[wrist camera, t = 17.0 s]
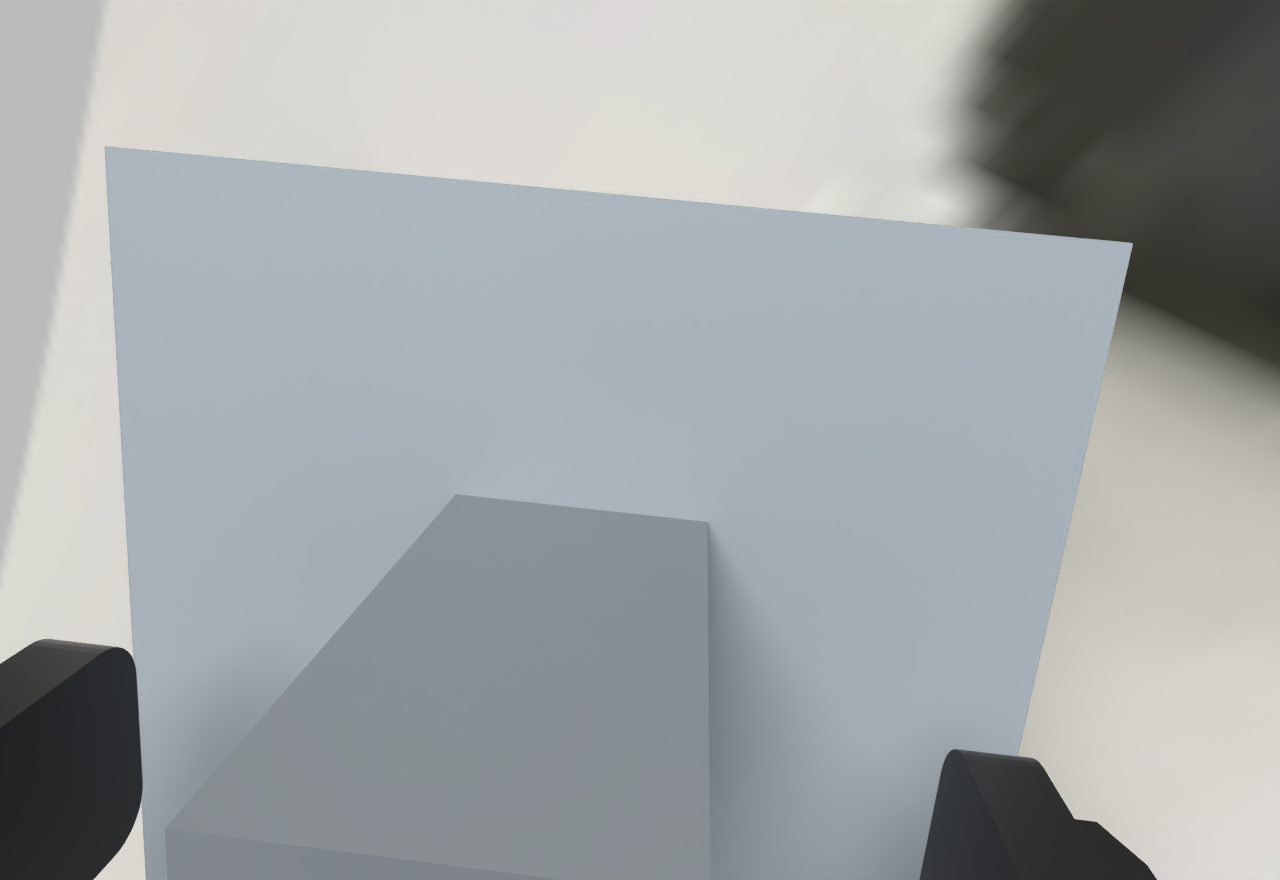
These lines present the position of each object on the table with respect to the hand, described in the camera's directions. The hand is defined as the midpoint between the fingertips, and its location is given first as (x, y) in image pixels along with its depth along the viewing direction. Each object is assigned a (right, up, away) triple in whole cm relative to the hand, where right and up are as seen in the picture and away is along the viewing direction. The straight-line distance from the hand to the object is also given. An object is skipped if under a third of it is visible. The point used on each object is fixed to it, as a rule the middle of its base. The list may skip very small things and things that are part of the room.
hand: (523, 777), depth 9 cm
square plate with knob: (+1, +3, +11) cm, 11 cm away
